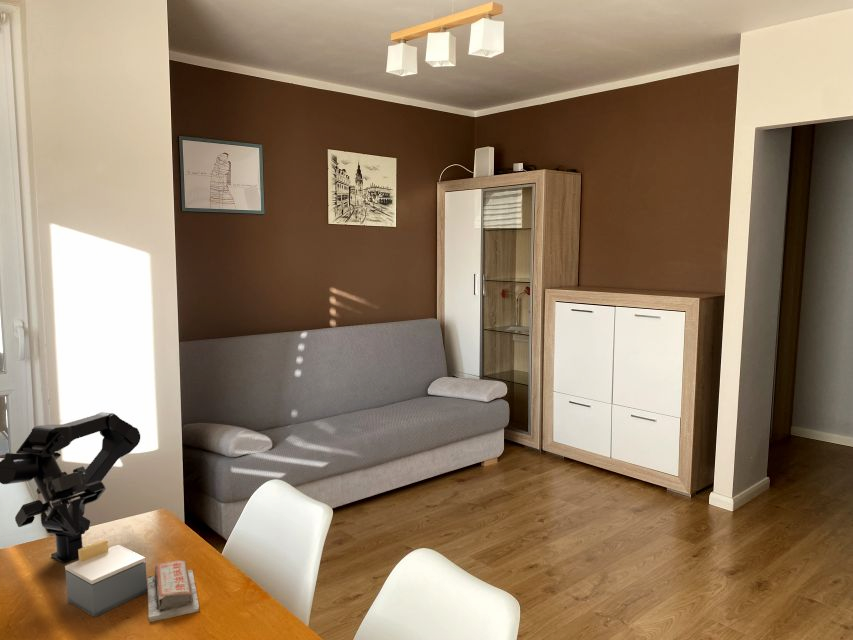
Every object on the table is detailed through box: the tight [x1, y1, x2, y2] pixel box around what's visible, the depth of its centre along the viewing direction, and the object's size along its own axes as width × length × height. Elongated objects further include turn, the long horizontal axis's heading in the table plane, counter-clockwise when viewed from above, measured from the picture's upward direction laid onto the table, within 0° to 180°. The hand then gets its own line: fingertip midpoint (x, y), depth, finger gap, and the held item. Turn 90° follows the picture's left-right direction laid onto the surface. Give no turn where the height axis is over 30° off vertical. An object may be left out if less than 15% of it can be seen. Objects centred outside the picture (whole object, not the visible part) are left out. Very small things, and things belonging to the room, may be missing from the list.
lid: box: [64, 538, 146, 584], centre depth 144 cm, size 11×12×3 cm
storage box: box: [64, 561, 148, 618], centre depth 145 cm, size 11×12×7 cm
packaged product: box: [147, 559, 200, 623], centre depth 145 cm, size 18×5×10 cm
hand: (77, 533), depth 151 cm, fingers closed
